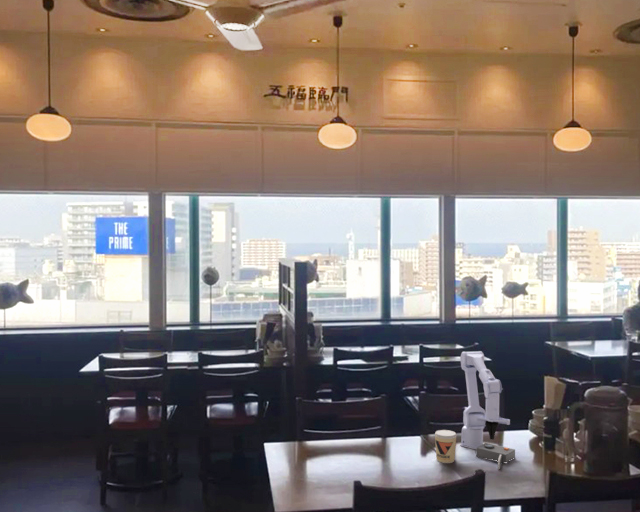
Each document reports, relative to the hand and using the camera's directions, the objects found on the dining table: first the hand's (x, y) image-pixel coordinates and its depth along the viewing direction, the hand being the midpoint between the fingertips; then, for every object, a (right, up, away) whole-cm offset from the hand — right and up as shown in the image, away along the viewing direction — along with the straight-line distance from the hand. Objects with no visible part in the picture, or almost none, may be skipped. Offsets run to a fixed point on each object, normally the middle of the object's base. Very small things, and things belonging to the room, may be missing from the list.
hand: (492, 438), depth 275 cm
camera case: (+3, -10, +5) cm, 11 cm away
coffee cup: (-20, -10, +2) cm, 22 cm away
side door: (+2, -10, -6) cm, 12 cm away
